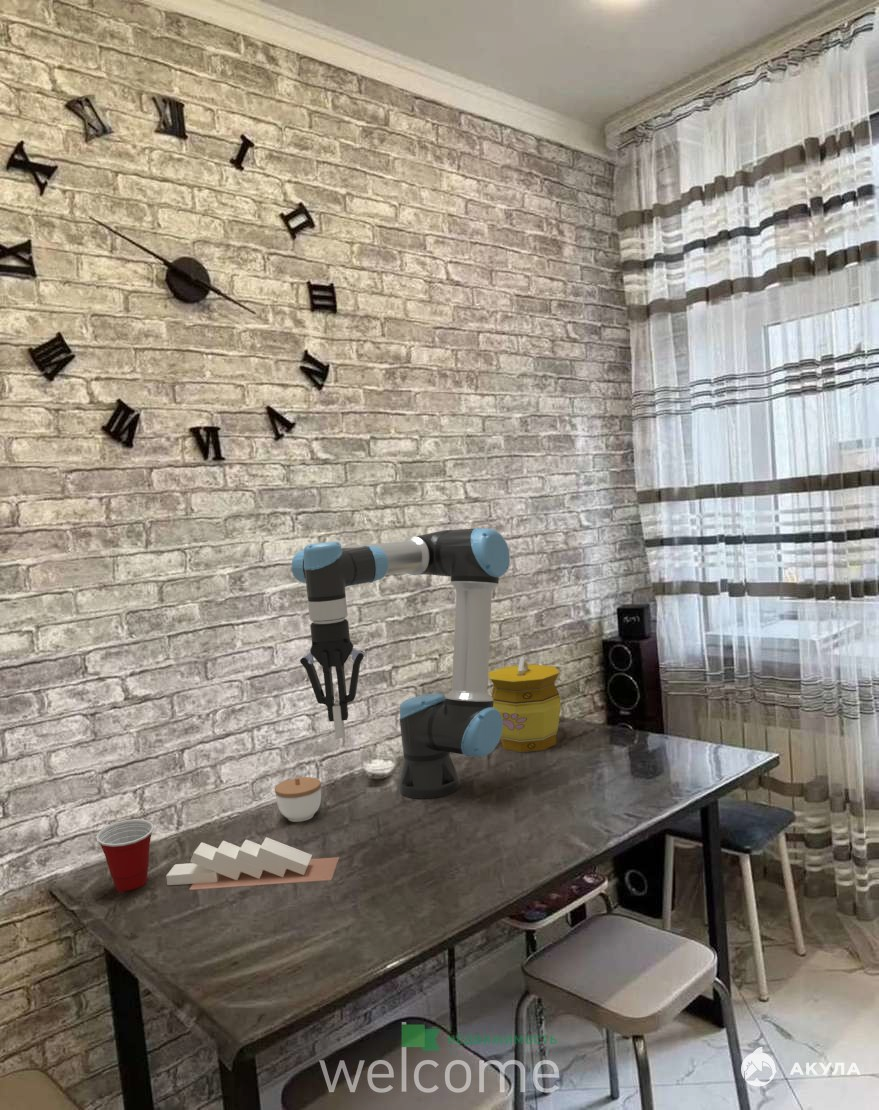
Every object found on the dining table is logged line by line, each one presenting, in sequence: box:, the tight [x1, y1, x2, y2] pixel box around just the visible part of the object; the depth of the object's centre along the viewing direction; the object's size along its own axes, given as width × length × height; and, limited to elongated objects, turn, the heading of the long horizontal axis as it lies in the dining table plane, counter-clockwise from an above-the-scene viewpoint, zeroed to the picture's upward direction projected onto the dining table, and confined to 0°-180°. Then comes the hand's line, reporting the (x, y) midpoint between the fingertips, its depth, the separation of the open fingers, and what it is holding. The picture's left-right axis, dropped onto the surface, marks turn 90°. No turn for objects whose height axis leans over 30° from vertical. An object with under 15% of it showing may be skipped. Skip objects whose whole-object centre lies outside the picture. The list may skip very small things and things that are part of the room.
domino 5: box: [257, 836, 313, 875], centre depth 166 cm, size 2×5×10 cm
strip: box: [188, 856, 340, 891], centre depth 166 cm, size 28×10×1 cm, turn 88°
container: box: [488, 656, 562, 753], centre depth 236 cm, size 21×21×25 cm
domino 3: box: [213, 840, 264, 879], centre depth 166 cm, size 2×5×10 cm
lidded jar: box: [274, 776, 322, 823], centre depth 196 cm, size 11×11×9 cm
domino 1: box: [165, 862, 222, 886], centre depth 167 cm, size 2×5×10 cm
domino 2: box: [189, 842, 242, 880], centre depth 166 cm, size 2×5×10 cm
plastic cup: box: [95, 818, 155, 894], centre depth 166 cm, size 11×11×12 cm
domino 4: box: [236, 839, 287, 877], centre depth 166 cm, size 2×5×10 cm
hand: (340, 736), depth 167 cm, fingers closed
